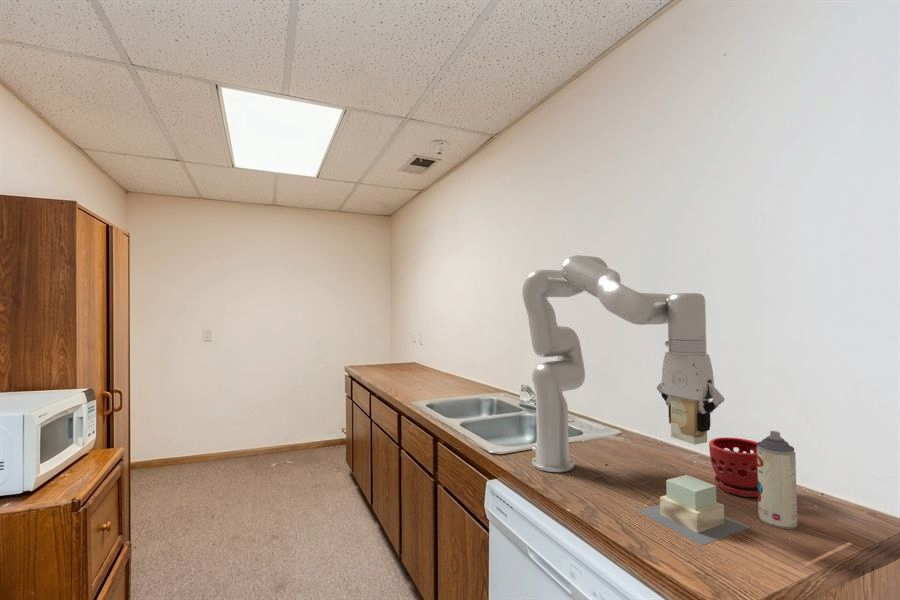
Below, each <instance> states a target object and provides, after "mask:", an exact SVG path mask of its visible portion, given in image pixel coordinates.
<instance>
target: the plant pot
mask: <svg viewBox="0 0 900 600" xmlns="http://www.w3.org/2000/svg"><path fill="white" fill-rule="evenodd" d="M758 442H759V441H754V440H751V439H750V440H749V439H745V438H739V437H716V438H713V439H711V440H710V441H709V442H708V445H709V446H708V448H709V457H710V458H709V459H710V462H711V466H712V469H713V472H714V474H715V476H714V478H713V479H714V483H715V485H716V486H718V488H720V489H722V490H724V491H725V492H727V493H730V494H733V495H736V496H741V497H747V498H748V497H749V498H750V497H751V498H755V497H756V498H758V476H757V445H758V444H757V443H758ZM734 448H737V449H738V451H735V450H734ZM727 449H728V450H727ZM751 451H752V452H753V453H752V452H751Z"/></svg>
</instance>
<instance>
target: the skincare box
mask: <svg viewBox="0 0 900 600" xmlns="http://www.w3.org/2000/svg"><path fill="white" fill-rule="evenodd" d="M703 403H704V401H703ZM704 406H705V405H704ZM698 413H700V410H699V408H698V405H697V401H694V400H688V399H683V398H678V397H674V396H671V424H670V437H671V438H672V439H675V440H676V439H677V440H679V441H682V442H684V443H685V442H686V443H688V444H692V445H693V446H695V445H700V444H706V443H708V431H704V432H700V431H698V425H697V414H698Z"/></svg>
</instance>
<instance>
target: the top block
mask: <svg viewBox="0 0 900 600" xmlns="http://www.w3.org/2000/svg"><path fill="white" fill-rule="evenodd" d="M665 484H666V485H665V486H666V487H665V488H666V492H665V493H666V495H667V498H668V499H670V500H673V501H675V502H677V503H679V504H682V505H684V506H686V507H688V508H691V509H693V510H695V511H696V510H700V509H703V508H706V507H709V506H712V505H715V504H716V502H717V485H716V484H715V485H714V484H712V483H709V482H707V481H704V480H702V479H698V478H696V477H694V476H691V475H689V474H685V475H681V476H678V477H673V478H668V479H667V480H665Z"/></svg>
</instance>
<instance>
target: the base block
mask: <svg viewBox="0 0 900 600" xmlns="http://www.w3.org/2000/svg"><path fill="white" fill-rule="evenodd" d="M659 504H660V515H662V516H664V517H666V518H668V519H670V520H672V521H674V522H676V523H678V524H680V525H682V526H684V527H686V528H688V529H690V530H692V531H694V532H696V533H699V532H702V531H704V530H707V529H710V528H713V527H716V526H718V525H721V524H724V516H725V505H724V504H722V503H721V502H717V501H716V504H715V505H712V506H709V507H706V508H703V509H700V510H696V511H695V510H693V509H691V508H688V507H686V506H684V505H682V504H679V503H677V502H675V501H673V500H670V499H668V498H667V494H665V495H662V496H659Z"/></svg>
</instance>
